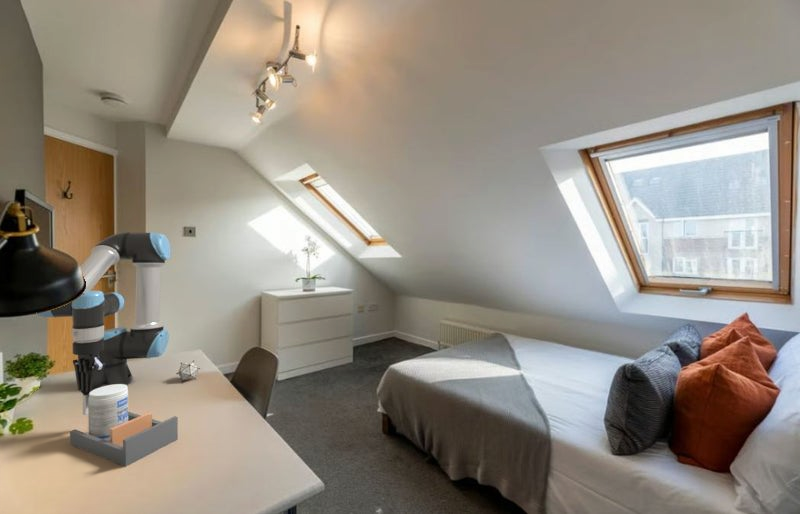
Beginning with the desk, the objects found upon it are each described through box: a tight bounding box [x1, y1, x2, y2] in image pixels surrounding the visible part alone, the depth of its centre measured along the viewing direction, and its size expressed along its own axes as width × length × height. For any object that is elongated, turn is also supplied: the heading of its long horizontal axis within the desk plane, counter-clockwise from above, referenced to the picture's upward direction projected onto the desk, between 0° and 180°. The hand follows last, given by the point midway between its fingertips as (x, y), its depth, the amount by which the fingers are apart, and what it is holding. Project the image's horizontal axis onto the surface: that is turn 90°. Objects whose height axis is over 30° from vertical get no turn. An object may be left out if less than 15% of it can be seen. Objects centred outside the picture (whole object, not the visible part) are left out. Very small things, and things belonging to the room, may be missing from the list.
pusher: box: [110, 412, 153, 447], centre depth 103 cm, size 4×11×7 cm, turn 158°
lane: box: [69, 411, 179, 467], centre depth 105 cm, size 26×14×7 cm, turn 68°
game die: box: [175, 360, 201, 383], centre depth 154 cm, size 9×8×10 cm
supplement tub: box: [87, 384, 129, 442], centre depth 108 cm, size 10×10×15 cm
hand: (89, 412), depth 112 cm, fingers closed
